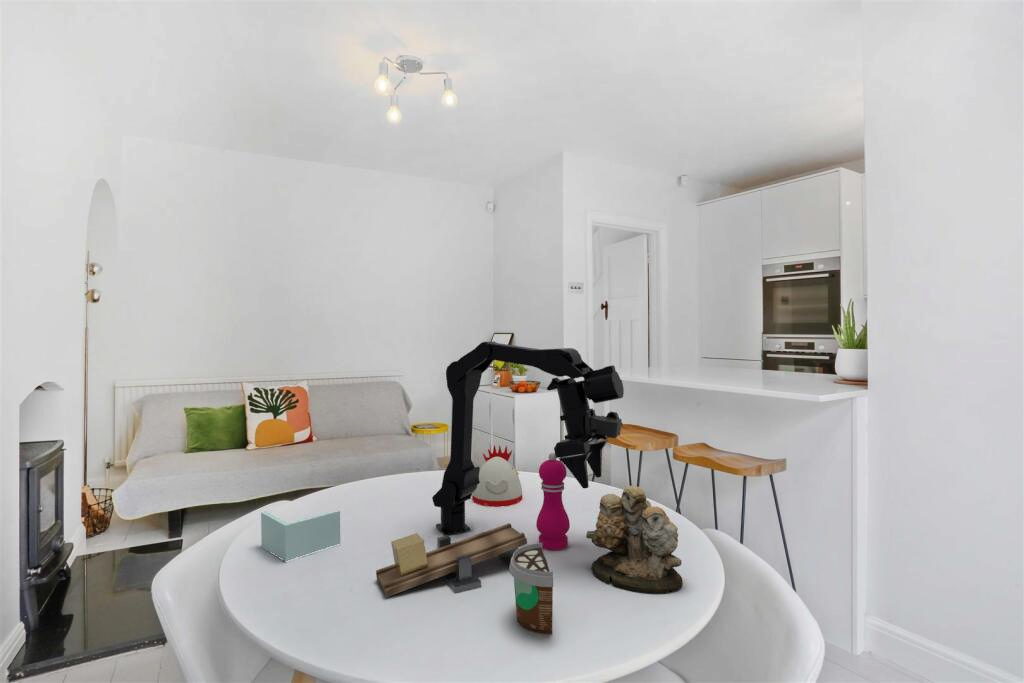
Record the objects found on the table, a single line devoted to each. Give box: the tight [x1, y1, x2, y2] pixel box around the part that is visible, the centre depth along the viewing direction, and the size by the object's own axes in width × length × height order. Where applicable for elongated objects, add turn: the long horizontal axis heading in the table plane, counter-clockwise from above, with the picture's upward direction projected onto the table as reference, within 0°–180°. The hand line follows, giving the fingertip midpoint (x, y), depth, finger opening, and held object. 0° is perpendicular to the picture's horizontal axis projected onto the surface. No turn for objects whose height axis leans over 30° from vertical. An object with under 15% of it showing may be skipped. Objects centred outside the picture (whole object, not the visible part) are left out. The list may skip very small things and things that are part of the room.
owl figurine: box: [585, 484, 684, 595], centre depth 100 cm, size 18×12×17 cm, turn 63°
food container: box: [508, 542, 554, 635], centre depth 86 cm, size 12×6×10 cm, turn 5°
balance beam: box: [375, 523, 528, 598], centre depth 102 cm, size 28×8×2 cm, turn 116°
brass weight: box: [390, 532, 428, 577], centre depth 99 cm, size 5×4×6 cm
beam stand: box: [436, 535, 520, 594], centre depth 105 cm, size 16×15×5 cm
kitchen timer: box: [471, 444, 523, 508], centre depth 148 cm, size 14×14×15 cm
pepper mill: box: [535, 452, 571, 551], centre depth 116 cm, size 7×7×20 cm
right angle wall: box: [260, 509, 341, 562], centre depth 116 cm, size 12×12×8 cm
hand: (592, 482), depth 109 cm, fingers open, 9 cm apart
